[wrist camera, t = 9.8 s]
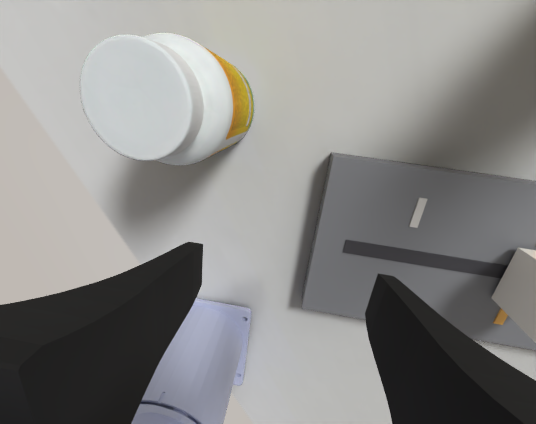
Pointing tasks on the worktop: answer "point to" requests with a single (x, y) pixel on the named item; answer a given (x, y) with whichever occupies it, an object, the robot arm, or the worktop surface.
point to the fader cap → (519, 291)
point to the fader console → (420, 241)
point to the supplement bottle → (164, 98)
